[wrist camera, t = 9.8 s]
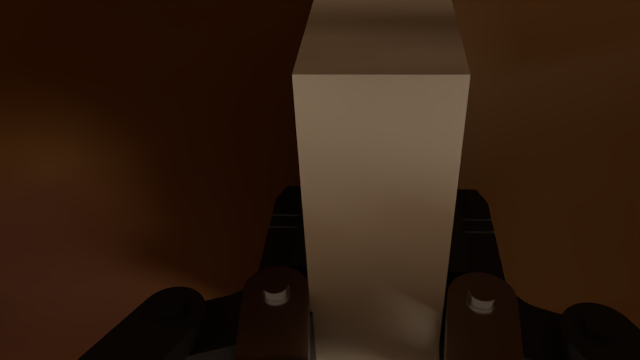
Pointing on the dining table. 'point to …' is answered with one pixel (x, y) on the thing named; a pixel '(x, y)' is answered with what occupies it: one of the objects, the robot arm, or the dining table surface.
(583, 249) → the dining table surface
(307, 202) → the beige rectangular block
